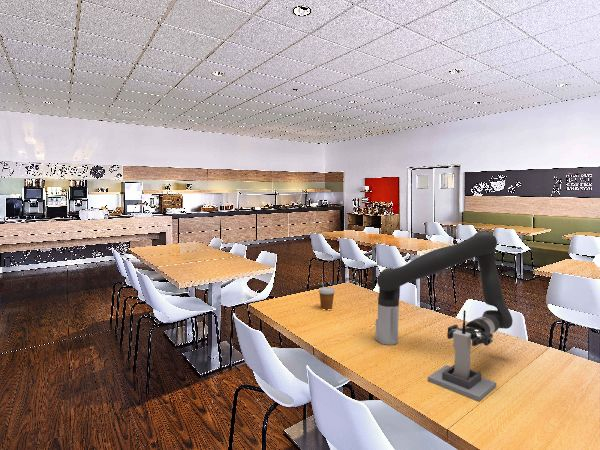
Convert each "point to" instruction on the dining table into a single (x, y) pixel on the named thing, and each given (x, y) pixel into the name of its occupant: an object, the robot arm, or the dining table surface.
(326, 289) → the disposable coffee cup
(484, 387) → the dock board
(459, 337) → the vintage mobile phone
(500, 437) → the dining table surface
